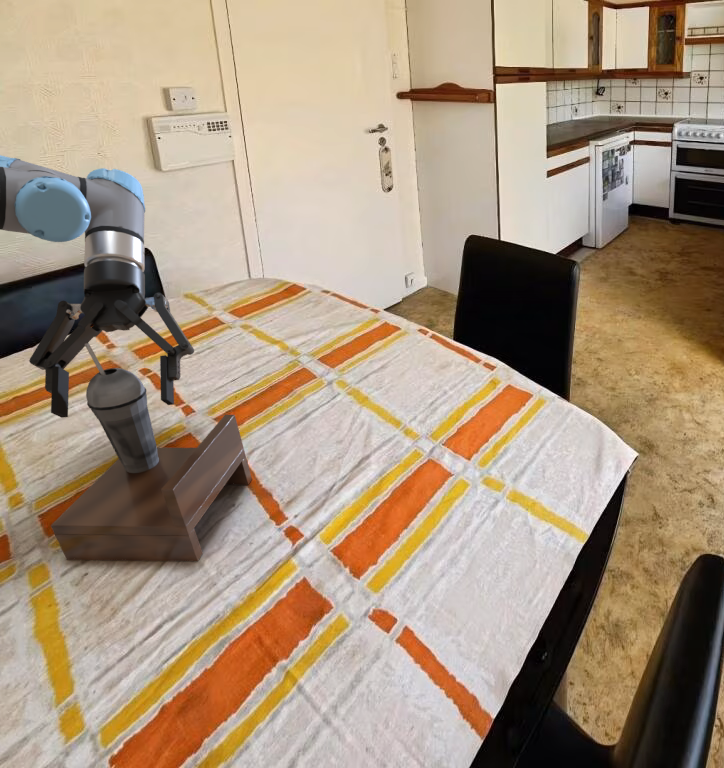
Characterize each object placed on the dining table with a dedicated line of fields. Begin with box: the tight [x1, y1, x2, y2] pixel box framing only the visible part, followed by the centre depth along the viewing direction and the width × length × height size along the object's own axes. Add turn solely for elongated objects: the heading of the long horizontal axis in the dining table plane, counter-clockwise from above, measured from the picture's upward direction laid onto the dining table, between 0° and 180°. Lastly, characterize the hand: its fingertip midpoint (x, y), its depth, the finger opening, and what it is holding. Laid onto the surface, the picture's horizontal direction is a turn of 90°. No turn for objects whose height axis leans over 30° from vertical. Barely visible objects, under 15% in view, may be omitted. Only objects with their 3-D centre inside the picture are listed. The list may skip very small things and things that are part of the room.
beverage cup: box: [84, 342, 159, 473], centre depth 88 cm, size 7×7×20 cm
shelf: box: [50, 414, 253, 562], centre depth 88 cm, size 18×18×12 cm
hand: (114, 408), depth 86 cm, fingers open, 13 cm apart
